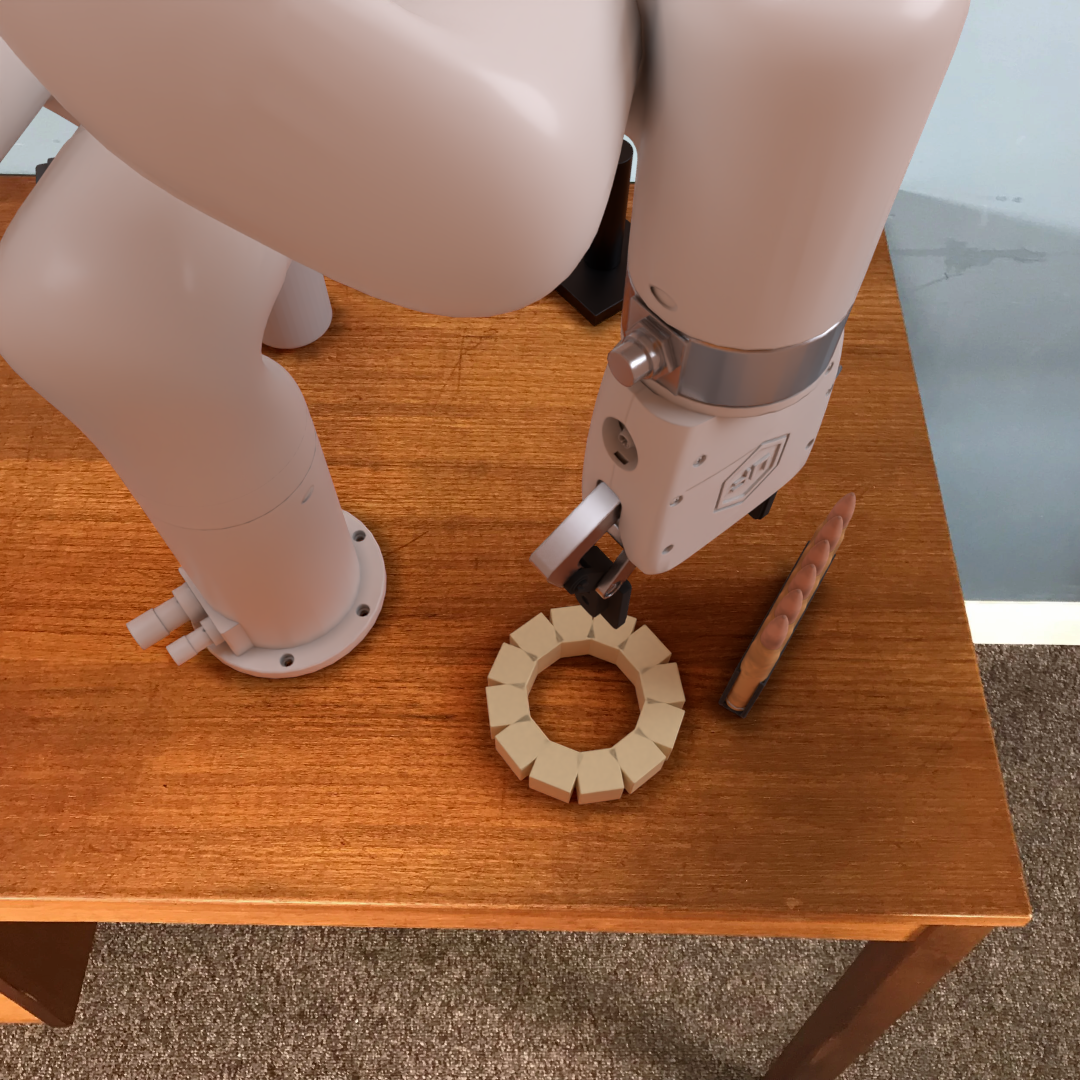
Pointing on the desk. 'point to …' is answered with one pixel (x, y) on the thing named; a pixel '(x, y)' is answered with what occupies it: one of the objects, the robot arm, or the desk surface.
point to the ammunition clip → (787, 610)
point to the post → (604, 254)
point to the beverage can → (299, 309)
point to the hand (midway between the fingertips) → (672, 550)
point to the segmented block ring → (560, 765)
